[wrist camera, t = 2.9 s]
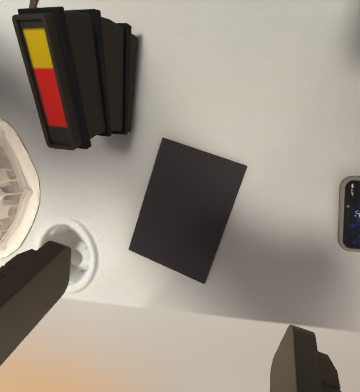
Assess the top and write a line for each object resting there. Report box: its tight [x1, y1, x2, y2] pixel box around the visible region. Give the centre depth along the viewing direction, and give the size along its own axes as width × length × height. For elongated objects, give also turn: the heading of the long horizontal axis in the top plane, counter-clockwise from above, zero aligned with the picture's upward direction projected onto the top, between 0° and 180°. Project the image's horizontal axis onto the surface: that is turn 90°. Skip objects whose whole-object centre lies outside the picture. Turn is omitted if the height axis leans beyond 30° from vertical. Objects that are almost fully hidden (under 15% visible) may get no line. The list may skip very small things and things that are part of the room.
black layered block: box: [12, 7, 138, 150], centre depth 34 cm, size 4×13×15 cm, turn 174°
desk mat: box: [129, 138, 247, 284], centre depth 38 cm, size 10×14×1 cm
